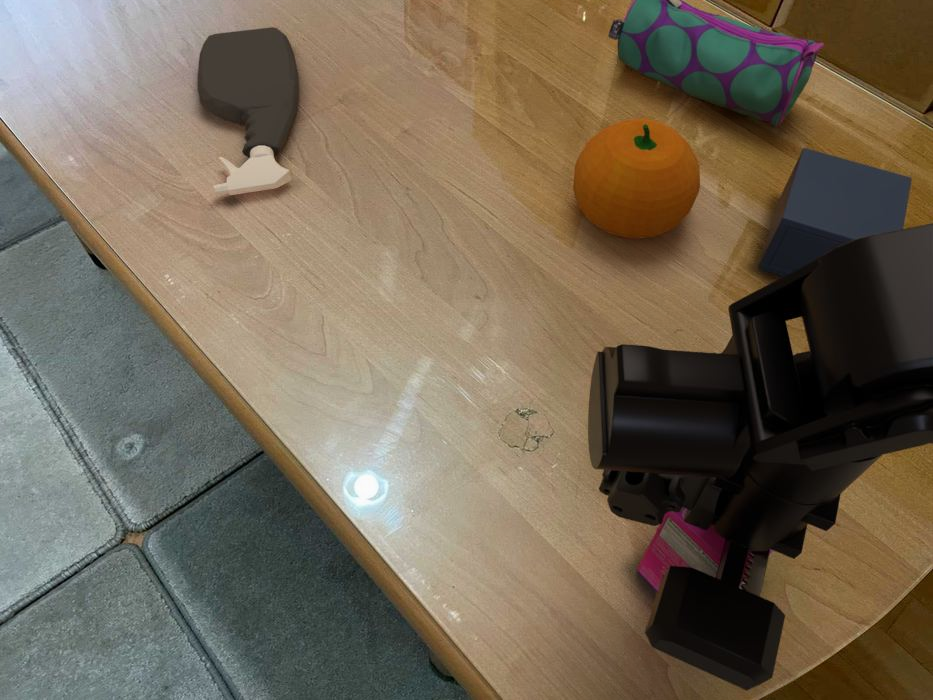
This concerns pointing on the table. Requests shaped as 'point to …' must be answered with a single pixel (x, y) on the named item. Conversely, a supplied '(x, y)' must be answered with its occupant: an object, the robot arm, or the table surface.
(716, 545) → the supplement box
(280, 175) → the spray bottle
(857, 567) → the table surface
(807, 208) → the lid
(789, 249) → the dark blue square block
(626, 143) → the fruit
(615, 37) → the pencil case
